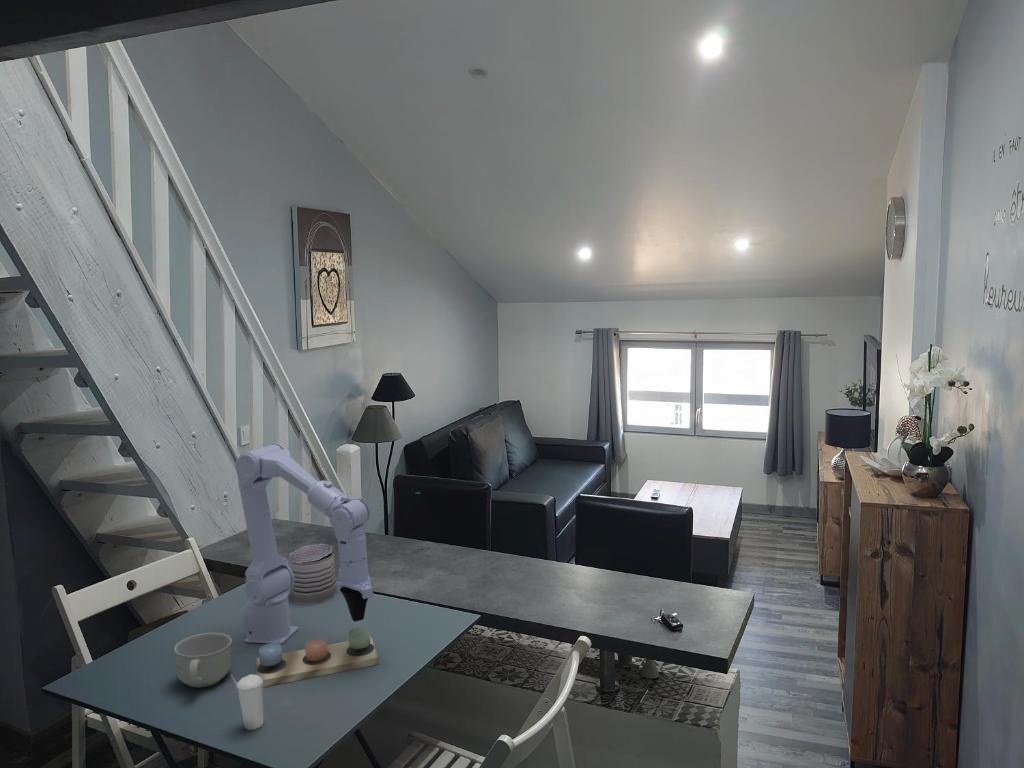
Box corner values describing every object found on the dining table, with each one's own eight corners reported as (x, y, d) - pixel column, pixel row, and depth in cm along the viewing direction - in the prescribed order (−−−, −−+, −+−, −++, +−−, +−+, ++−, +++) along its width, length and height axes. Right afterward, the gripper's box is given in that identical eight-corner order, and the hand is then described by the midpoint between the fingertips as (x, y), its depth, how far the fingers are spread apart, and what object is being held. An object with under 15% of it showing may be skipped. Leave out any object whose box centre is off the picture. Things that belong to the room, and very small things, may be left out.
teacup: (192, 666, 157) (188, 631, 156) (243, 665, 157) (239, 629, 156) (160, 703, 144) (155, 664, 143) (215, 702, 143) (211, 663, 142)
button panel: (256, 688, 148) (256, 680, 147) (257, 664, 157) (256, 657, 157) (378, 664, 155) (377, 657, 155) (371, 643, 164) (371, 636, 164)
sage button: (350, 650, 155) (349, 638, 155) (348, 641, 160) (347, 629, 159) (371, 646, 157) (370, 634, 156) (368, 637, 161) (368, 625, 161)
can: (337, 601, 187) (333, 555, 186) (290, 608, 185) (286, 561, 183) (337, 584, 198) (333, 541, 197) (292, 590, 196) (288, 546, 194)
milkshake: (240, 719, 137) (234, 668, 136) (269, 716, 137) (264, 665, 136) (233, 734, 133) (227, 681, 131) (263, 731, 133) (258, 678, 132)
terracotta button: (306, 663, 153) (305, 650, 153) (305, 653, 157) (304, 641, 157) (328, 658, 154) (327, 646, 154) (326, 649, 158) (325, 637, 158)
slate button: (259, 667, 150) (258, 655, 150) (260, 657, 154) (258, 645, 154) (282, 663, 151) (281, 650, 151) (282, 653, 156) (281, 641, 155)
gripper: (323, 552, 160) (328, 612, 161) (347, 572, 147) (352, 637, 149) (354, 545, 163) (359, 604, 165) (380, 564, 151) (385, 627, 153)
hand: (358, 619), depth 157 cm, fingers closed
